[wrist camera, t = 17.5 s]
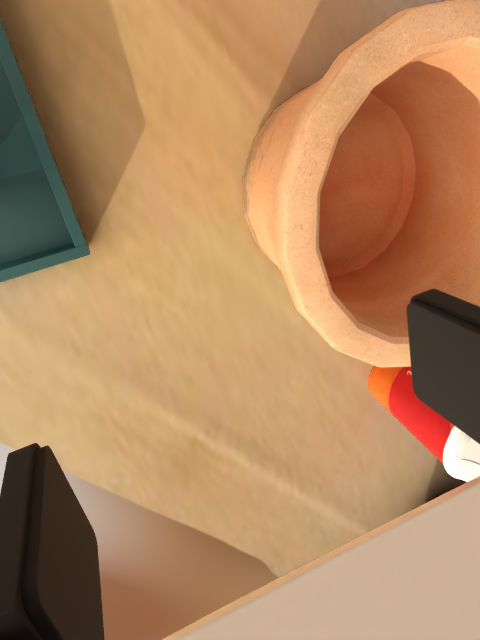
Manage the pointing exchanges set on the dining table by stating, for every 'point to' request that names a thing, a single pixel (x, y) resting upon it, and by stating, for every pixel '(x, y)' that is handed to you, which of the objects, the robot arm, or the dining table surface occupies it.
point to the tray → (30, 184)
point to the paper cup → (425, 422)
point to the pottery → (376, 181)
